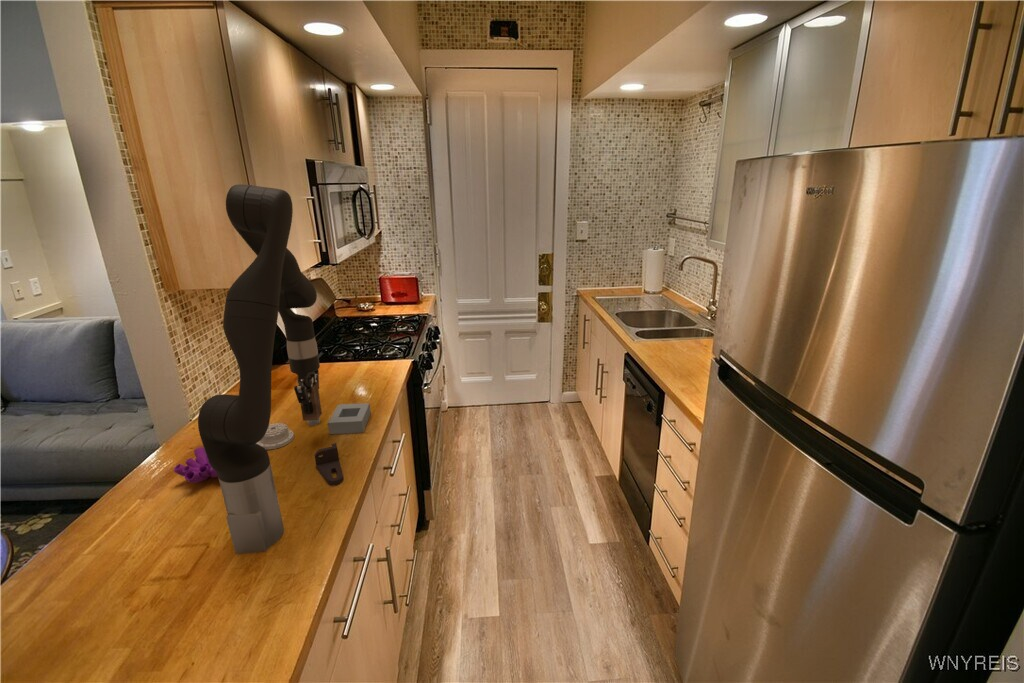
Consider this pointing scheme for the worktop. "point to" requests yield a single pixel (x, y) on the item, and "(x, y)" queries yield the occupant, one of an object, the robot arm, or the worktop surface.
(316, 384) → the walnut peg
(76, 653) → the worktop surface
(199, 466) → the purple coral piece
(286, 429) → the mechanical component
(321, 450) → the bracket
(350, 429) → the socket block
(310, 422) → the grey metallic cylinder
